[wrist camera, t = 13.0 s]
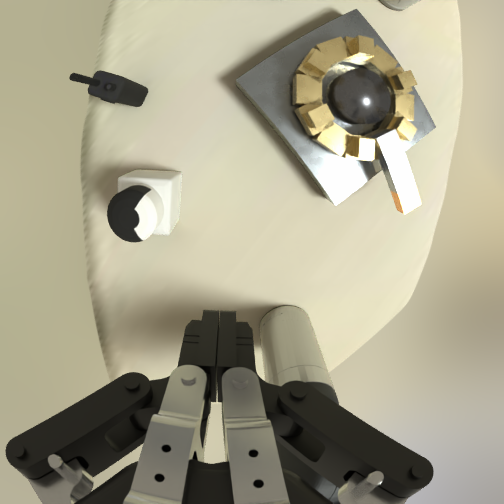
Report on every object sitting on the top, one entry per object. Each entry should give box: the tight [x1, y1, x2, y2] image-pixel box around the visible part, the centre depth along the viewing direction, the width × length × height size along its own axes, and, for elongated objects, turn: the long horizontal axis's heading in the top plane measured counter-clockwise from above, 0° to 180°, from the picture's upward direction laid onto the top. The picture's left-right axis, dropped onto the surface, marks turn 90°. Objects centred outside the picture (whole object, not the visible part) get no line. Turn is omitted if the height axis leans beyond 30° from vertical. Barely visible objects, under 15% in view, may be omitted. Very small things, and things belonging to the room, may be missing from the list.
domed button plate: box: [236, 9, 436, 206], centre depth 31 cm, size 21×21×8 cm
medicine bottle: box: [107, 169, 182, 242], centre depth 33 cm, size 7×7×12 cm
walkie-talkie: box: [70, 71, 148, 107], centre depth 26 cm, size 5×3×15 cm
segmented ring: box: [293, 35, 421, 214], centre depth 29 cm, size 16×24×4 cm
